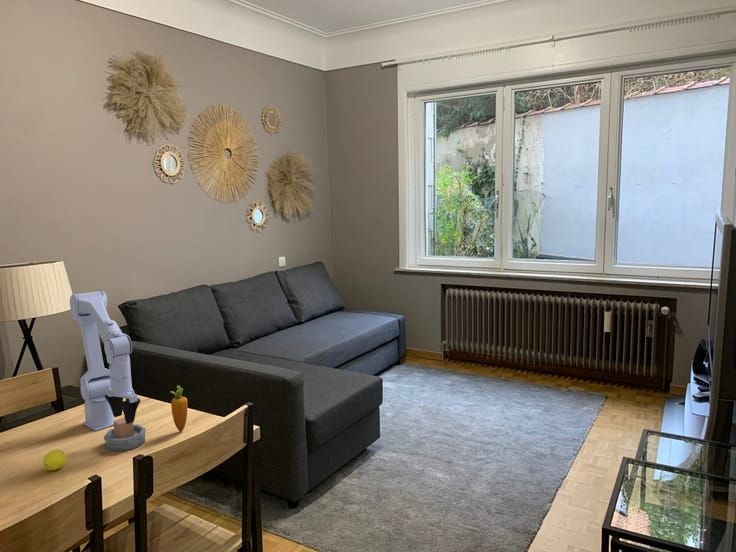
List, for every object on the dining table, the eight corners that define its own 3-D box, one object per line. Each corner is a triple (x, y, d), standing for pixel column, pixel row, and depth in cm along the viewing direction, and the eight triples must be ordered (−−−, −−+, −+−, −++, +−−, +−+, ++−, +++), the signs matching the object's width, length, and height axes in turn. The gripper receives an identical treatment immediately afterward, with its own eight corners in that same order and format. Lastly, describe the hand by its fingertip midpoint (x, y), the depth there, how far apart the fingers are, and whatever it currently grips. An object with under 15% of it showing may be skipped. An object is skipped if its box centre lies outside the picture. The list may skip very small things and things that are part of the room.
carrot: (184, 435, 171) (181, 389, 168) (169, 434, 172) (166, 389, 169) (192, 429, 175) (189, 384, 173) (178, 428, 176) (175, 383, 174)
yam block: (114, 436, 165) (113, 421, 164) (127, 432, 168) (126, 416, 167) (121, 440, 162) (119, 424, 162) (134, 435, 166) (132, 420, 165)
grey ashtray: (99, 444, 165) (98, 433, 165) (134, 432, 173) (133, 421, 173) (116, 455, 158) (115, 443, 158) (152, 441, 166) (151, 430, 166)
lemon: (54, 465, 154) (54, 446, 154) (72, 465, 153) (71, 446, 153) (36, 474, 147) (36, 454, 147) (55, 475, 146) (55, 455, 146)
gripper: (95, 374, 164) (99, 417, 166) (119, 385, 155) (122, 430, 157) (118, 368, 170) (122, 410, 172) (142, 378, 160) (145, 422, 162)
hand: (123, 419), depth 165 cm, fingers open, 7 cm apart
